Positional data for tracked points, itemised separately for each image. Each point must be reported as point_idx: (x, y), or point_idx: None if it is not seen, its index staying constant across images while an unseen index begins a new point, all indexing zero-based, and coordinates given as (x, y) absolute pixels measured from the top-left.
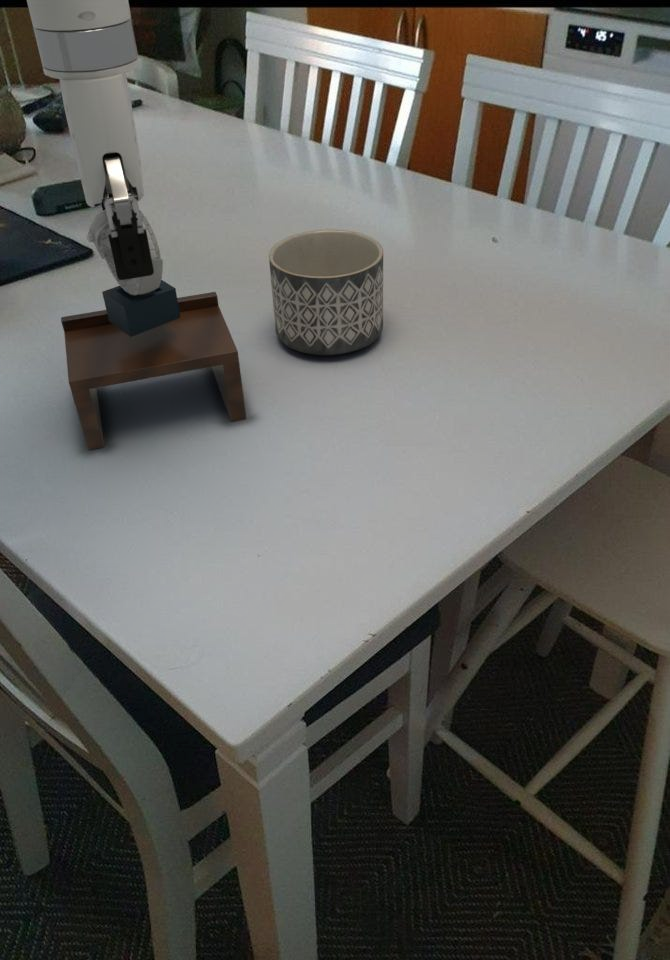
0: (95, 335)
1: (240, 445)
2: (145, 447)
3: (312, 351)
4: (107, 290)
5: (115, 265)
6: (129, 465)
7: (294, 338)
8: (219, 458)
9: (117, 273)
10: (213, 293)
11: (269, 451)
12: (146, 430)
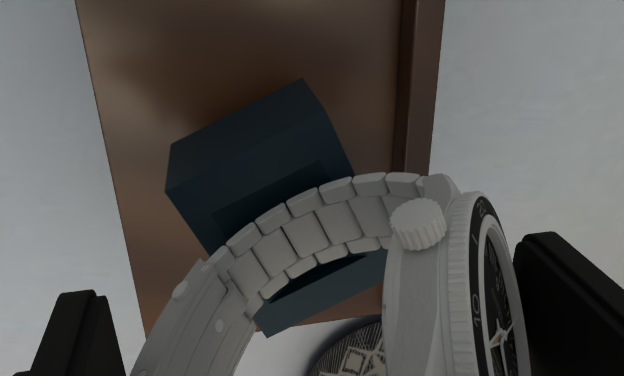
0: (344, 5)
1: (72, 228)
2: None
3: (315, 367)
4: (330, 130)
5: (40, 343)
6: (26, 8)
7: (344, 358)
8: (32, 190)
9: (54, 311)
10: None
11: (45, 272)
12: None
